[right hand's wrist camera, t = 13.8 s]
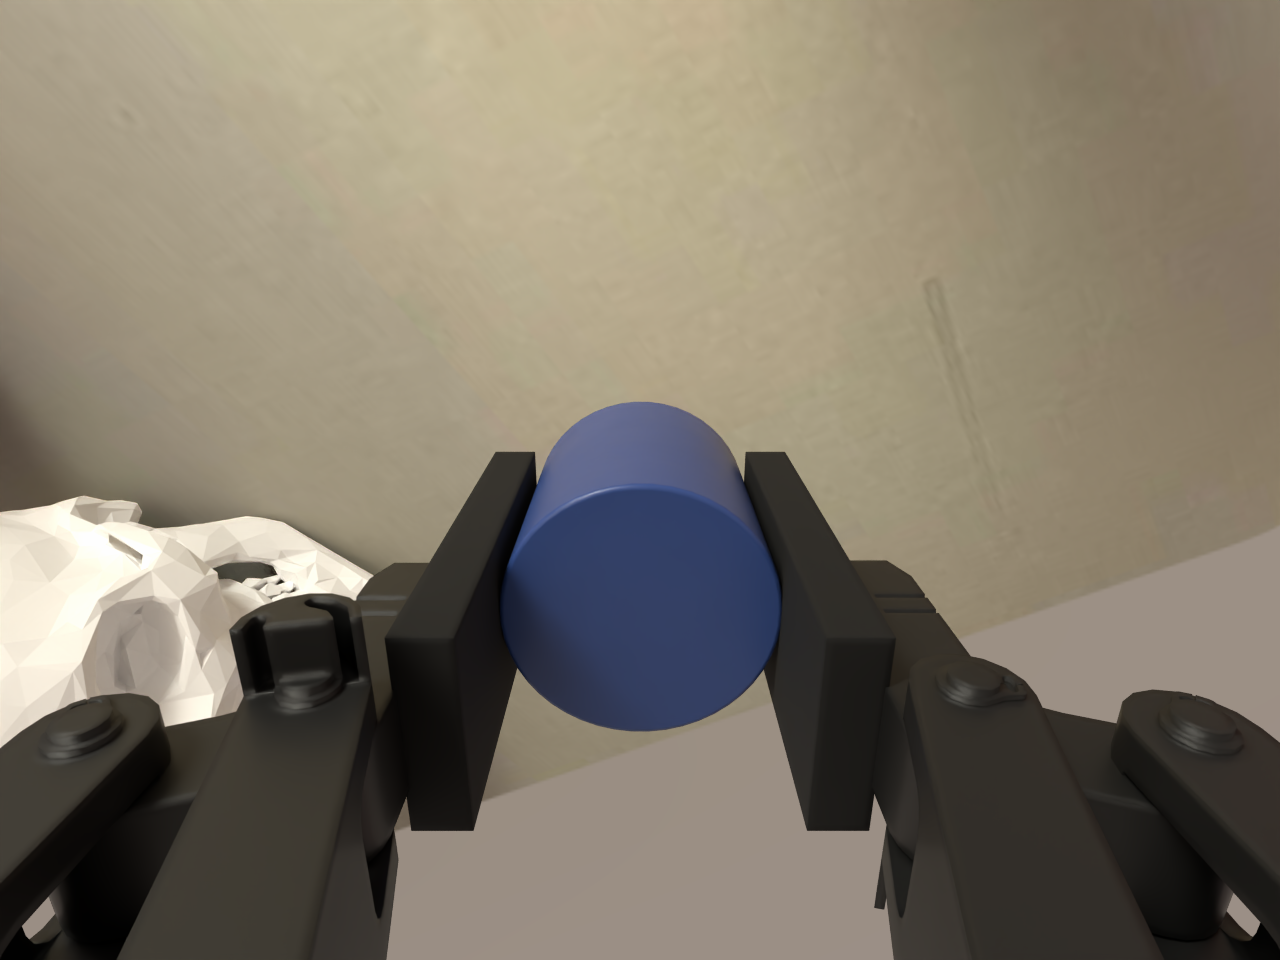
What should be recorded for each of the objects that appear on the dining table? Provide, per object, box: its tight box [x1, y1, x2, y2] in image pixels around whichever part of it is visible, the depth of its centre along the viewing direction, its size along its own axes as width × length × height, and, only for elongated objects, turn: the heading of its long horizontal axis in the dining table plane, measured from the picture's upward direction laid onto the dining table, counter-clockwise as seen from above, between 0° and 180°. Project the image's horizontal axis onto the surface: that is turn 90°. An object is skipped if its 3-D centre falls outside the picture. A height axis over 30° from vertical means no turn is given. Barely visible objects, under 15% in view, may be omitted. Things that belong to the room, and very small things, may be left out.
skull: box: [0, 496, 373, 748], centre depth 30 cm, size 13×22×16 cm, turn 91°
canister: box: [499, 402, 782, 731], centre depth 13 cm, size 4×4×4 cm
